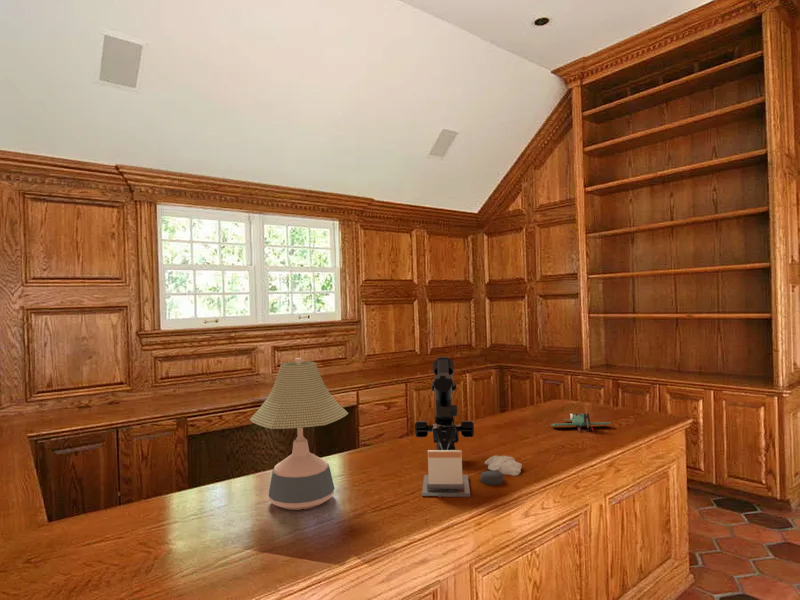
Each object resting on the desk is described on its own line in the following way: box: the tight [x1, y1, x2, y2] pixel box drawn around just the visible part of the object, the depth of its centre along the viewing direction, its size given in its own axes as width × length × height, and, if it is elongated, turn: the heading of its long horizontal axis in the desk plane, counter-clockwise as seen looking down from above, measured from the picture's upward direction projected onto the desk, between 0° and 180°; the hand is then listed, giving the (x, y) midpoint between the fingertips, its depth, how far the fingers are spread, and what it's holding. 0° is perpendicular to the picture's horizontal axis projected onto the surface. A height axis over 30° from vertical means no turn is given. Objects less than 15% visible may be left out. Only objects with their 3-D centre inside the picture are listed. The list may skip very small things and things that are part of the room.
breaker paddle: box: [427, 449, 464, 489], centre depth 149 cm, size 2×11×11 cm, turn 85°
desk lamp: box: [249, 357, 349, 511], centre depth 146 cm, size 26×28×42 cm
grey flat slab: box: [421, 474, 471, 498], centre depth 153 cm, size 16×14×1 cm
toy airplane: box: [550, 406, 611, 432], centre depth 221 cm, size 22×25×11 cm
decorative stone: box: [484, 454, 523, 477], centre depth 168 cm, size 11×4×15 cm
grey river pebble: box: [480, 470, 504, 486], centre depth 157 cm, size 7×7×2 cm
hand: (444, 453), depth 154 cm, fingers closed
